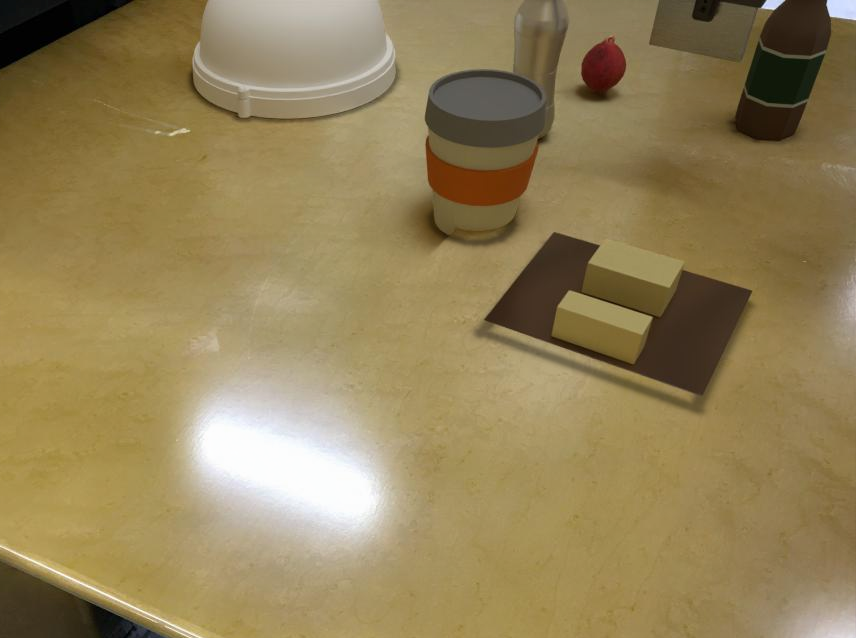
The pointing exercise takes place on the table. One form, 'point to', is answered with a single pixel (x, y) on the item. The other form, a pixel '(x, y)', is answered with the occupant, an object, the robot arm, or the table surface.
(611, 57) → the pomegranate
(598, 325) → the butter slice
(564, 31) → the plastic bottle
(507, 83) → the reusable coffee cup
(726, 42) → the bench scraper
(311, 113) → the dome cover
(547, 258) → the cutting board
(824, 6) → the beer bottle
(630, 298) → the butter block
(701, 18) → the robot arm
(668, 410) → the table surface
